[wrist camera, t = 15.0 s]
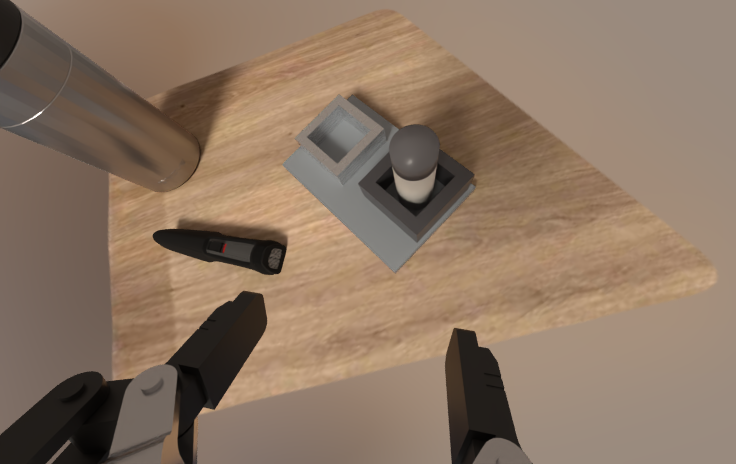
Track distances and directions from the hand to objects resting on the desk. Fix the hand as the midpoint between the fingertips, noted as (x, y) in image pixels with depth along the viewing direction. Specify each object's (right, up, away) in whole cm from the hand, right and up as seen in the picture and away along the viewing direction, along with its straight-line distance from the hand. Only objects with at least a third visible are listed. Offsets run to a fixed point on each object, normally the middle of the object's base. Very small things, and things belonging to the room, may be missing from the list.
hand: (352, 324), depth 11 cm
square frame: (-2, +14, +20) cm, 25 cm away
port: (+6, +8, +18) cm, 20 cm away
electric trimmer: (-16, +1, +21) cm, 27 cm away
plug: (+6, +8, +18) cm, 20 cm away
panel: (+1, +10, +20) cm, 22 cm away
